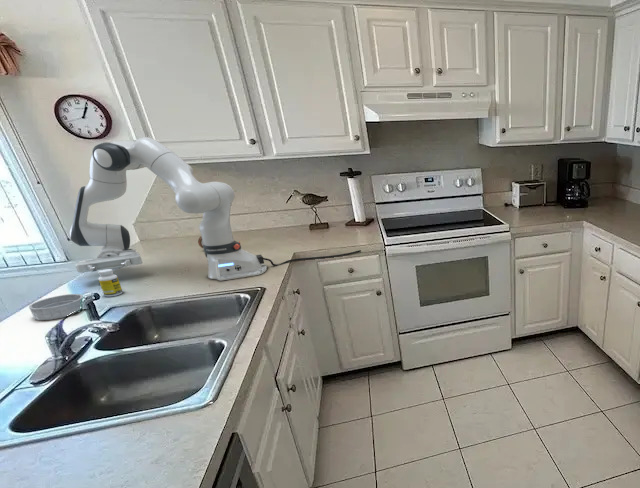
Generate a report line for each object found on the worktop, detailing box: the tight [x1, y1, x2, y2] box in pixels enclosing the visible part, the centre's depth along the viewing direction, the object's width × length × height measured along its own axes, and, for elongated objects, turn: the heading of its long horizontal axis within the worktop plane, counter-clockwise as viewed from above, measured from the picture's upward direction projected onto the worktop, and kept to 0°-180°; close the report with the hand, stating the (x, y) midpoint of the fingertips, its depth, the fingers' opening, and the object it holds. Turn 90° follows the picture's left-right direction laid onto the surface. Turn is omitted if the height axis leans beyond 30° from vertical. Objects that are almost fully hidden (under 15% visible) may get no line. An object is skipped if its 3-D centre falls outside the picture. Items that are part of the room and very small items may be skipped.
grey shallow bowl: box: [28, 293, 84, 321], centre depth 143 cm, size 13×13×4 cm
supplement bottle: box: [97, 269, 124, 298], centre depth 158 cm, size 5×5×10 cm
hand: (109, 267), depth 165 cm, fingers open, 8 cm apart
